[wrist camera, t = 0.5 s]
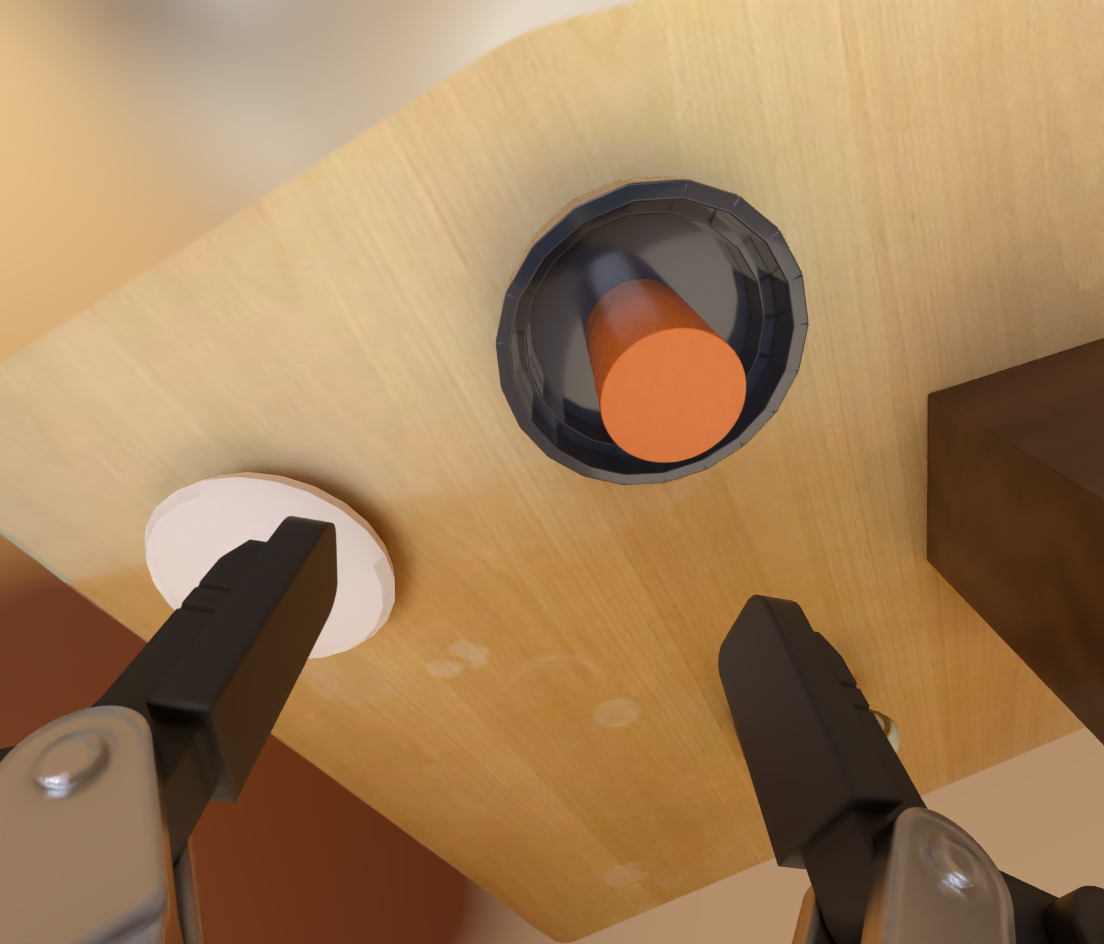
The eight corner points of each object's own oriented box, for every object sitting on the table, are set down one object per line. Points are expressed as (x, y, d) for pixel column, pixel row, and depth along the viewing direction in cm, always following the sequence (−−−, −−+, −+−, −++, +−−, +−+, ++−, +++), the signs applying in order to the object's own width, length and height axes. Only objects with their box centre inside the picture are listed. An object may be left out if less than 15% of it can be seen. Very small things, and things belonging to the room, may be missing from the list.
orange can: (570, 303, 26) (579, 361, 18) (675, 260, 25) (731, 303, 17) (604, 395, 29) (624, 480, 21) (700, 361, 28) (757, 436, 20)
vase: (441, 516, 34) (418, 592, 28) (362, 649, 41) (331, 732, 35) (198, 408, 30) (109, 470, 24) (157, 577, 37) (80, 658, 31)
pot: (458, 249, 25) (442, 265, 21) (744, 122, 22) (784, 114, 19) (560, 474, 32) (561, 516, 28) (787, 398, 30) (822, 433, 26)
